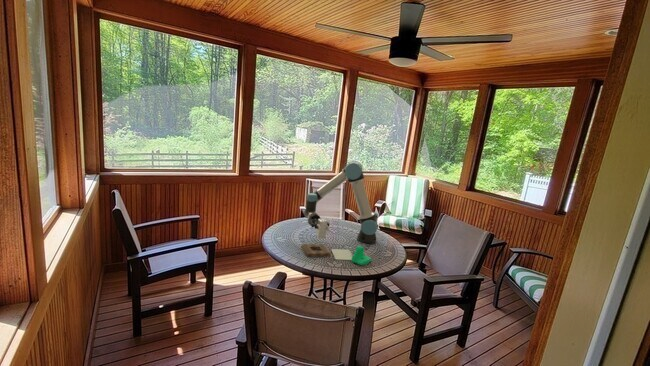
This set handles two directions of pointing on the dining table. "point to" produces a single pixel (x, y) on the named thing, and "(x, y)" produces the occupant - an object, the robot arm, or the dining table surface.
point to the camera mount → (360, 256)
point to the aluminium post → (322, 233)
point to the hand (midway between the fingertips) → (324, 229)
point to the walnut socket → (310, 253)
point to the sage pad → (342, 254)
